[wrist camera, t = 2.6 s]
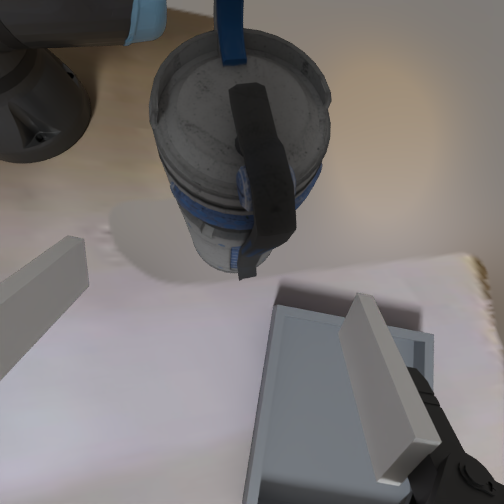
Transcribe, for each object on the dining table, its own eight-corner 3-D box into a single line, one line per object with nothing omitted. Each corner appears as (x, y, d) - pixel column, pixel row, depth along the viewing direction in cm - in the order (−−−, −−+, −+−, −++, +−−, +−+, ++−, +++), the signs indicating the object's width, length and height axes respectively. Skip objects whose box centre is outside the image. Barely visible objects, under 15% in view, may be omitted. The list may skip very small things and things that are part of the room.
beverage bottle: (203, 302, 34) (148, 241, 10) (187, 200, 37) (115, -32, 13) (286, 285, 36) (410, 198, 12) (263, 188, 39) (324, -41, 15)
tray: (273, 306, 35) (277, 304, 32) (417, 333, 35) (433, 334, 33) (242, 501, 30) (243, 520, 27) (411, 530, 30) (431, 551, 27)
